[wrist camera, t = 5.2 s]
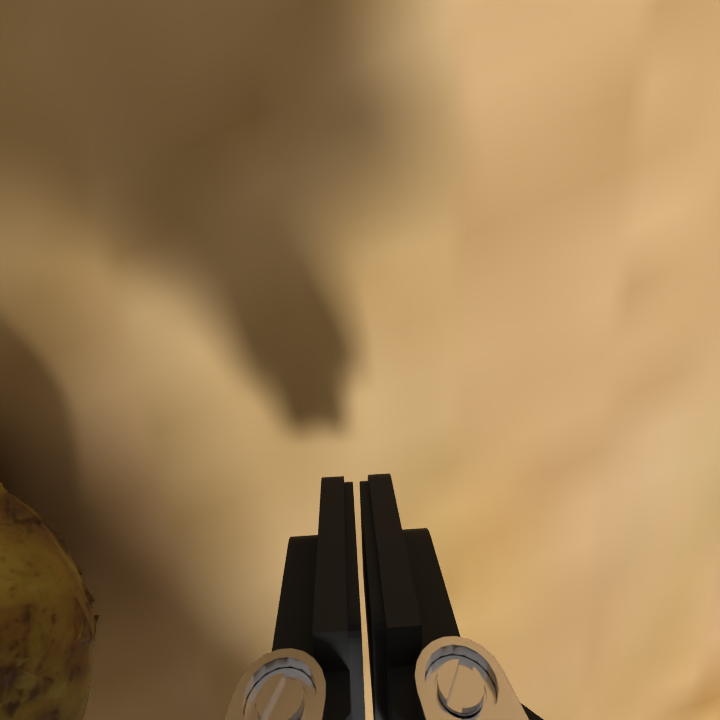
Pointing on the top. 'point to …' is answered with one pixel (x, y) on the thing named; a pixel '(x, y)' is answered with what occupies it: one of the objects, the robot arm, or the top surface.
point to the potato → (41, 620)
